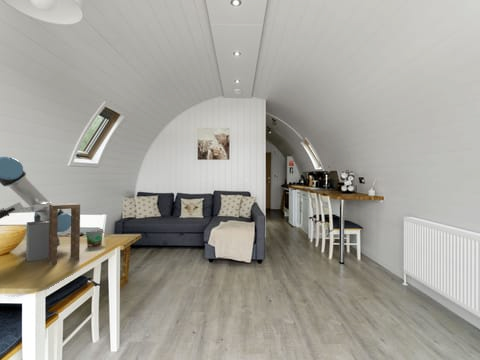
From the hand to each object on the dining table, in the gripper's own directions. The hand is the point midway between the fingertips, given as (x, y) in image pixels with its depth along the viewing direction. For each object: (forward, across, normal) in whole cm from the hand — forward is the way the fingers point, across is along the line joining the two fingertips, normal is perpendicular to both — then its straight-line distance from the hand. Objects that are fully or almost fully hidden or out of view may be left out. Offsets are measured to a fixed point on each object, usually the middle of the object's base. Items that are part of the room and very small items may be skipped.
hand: (21, 204), depth 133 cm
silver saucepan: (0, 0, +4) cm, 4 cm away
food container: (+19, +7, +45) cm, 50 cm away
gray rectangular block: (-8, 0, +30) cm, 31 cm away
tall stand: (0, -13, +34) cm, 37 cm away
